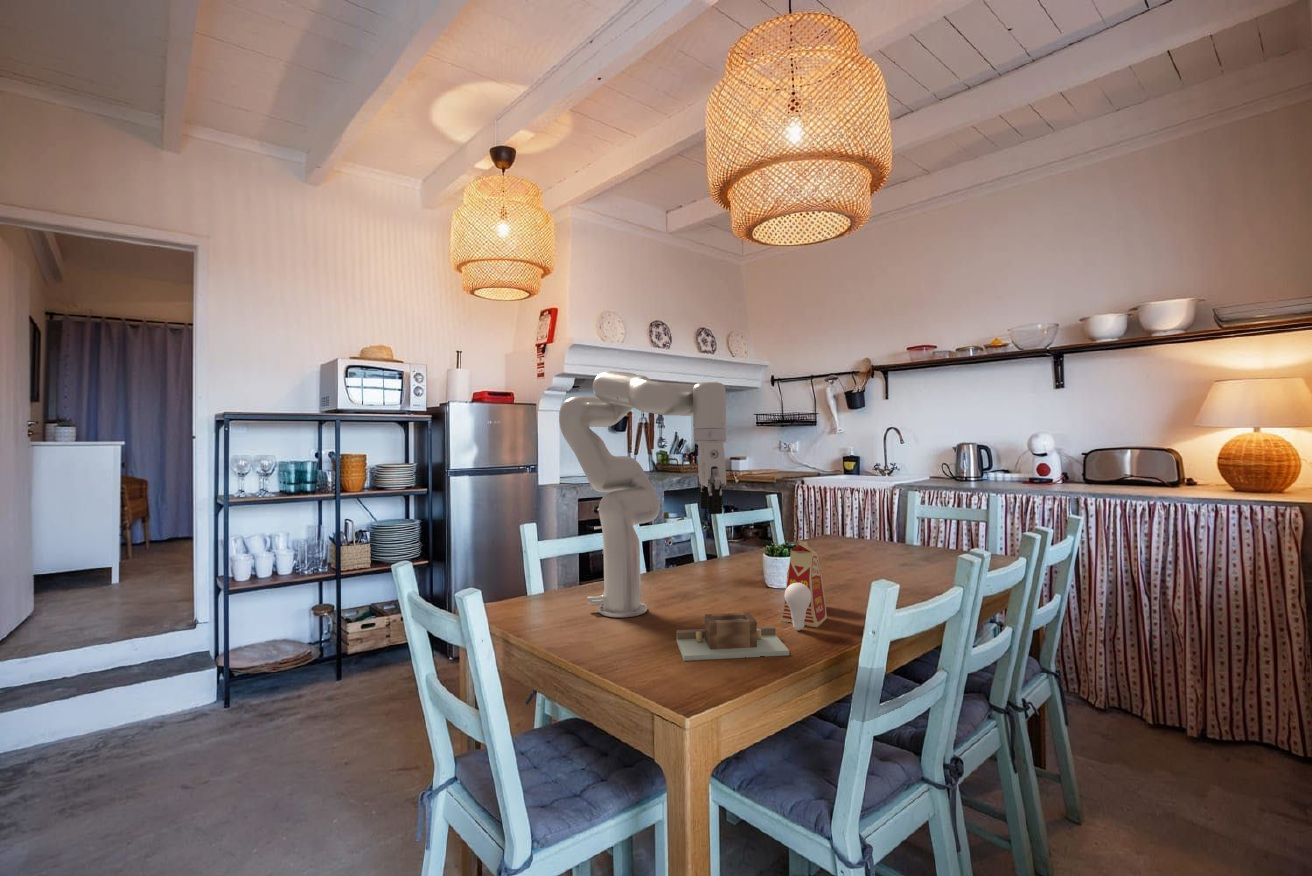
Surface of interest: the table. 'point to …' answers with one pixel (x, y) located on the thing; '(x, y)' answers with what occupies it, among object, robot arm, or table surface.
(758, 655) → the board
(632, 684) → the table surface
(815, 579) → the milk carton
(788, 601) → the lightbulb
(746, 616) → the wooden box
